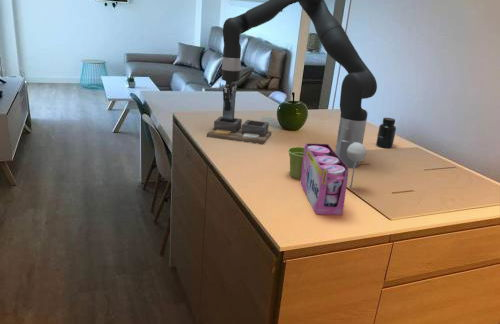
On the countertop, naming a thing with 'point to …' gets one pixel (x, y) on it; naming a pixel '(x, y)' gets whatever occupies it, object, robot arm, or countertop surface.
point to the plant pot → (296, 161)
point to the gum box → (324, 179)
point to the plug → (232, 107)
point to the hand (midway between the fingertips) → (228, 109)
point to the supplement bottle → (386, 133)
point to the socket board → (240, 130)
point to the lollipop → (356, 155)
